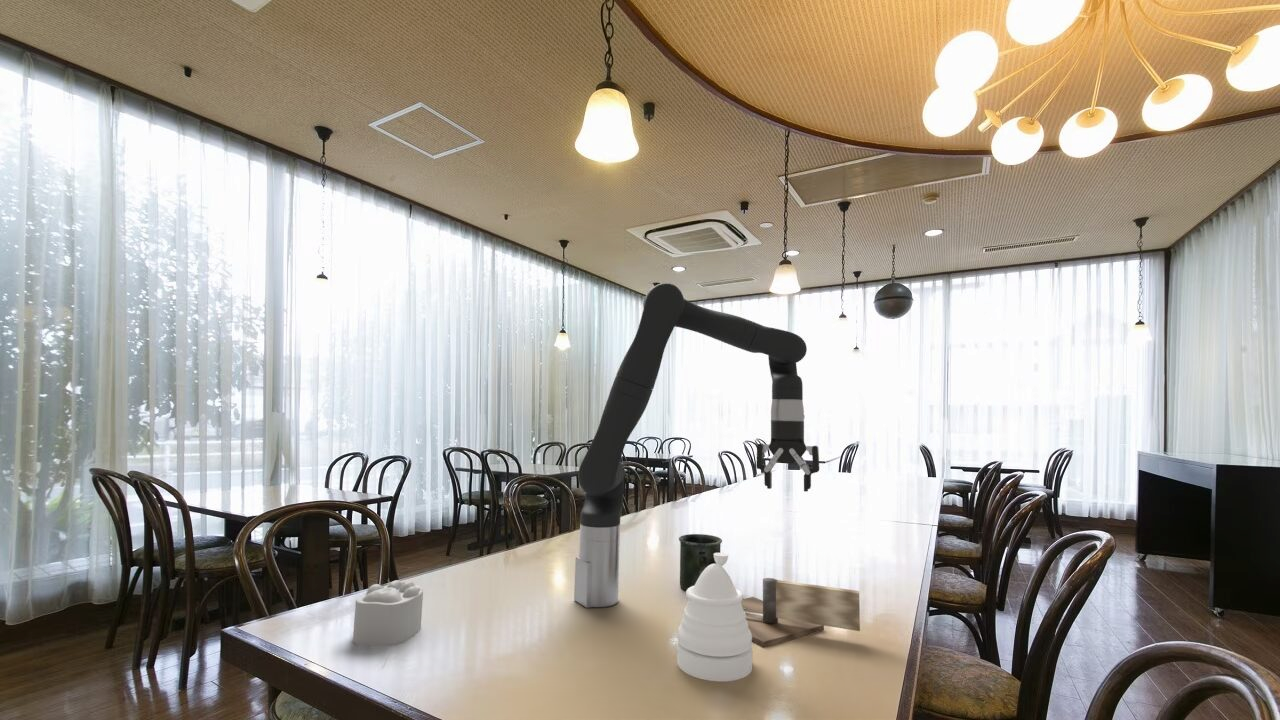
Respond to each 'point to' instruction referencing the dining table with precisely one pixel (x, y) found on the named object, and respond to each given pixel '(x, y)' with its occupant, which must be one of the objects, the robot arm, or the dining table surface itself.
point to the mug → (696, 556)
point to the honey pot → (714, 628)
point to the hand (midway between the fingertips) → (787, 489)
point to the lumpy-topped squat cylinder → (388, 614)
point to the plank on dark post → (809, 604)
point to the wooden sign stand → (774, 626)
